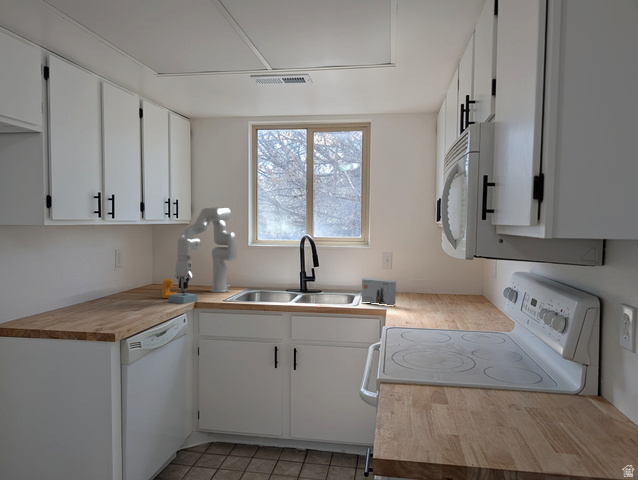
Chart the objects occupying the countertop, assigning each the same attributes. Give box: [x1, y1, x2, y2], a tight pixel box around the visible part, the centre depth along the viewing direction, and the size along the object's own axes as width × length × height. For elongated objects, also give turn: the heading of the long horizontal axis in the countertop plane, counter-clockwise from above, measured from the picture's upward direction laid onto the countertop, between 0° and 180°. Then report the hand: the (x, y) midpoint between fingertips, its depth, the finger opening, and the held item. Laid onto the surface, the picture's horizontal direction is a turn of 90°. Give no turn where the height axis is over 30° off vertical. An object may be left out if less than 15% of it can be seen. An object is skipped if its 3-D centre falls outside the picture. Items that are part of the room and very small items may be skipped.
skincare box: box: [361, 277, 397, 305], centre depth 267 cm, size 21×5×16 cm, turn 62°
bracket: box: [161, 278, 178, 299], centre depth 272 cm, size 11×7×12 cm, turn 5°
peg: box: [180, 277, 187, 294], centre depth 261 cm, size 3×3×10 cm
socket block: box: [168, 292, 199, 305], centre depth 261 cm, size 12×12×4 cm
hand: (183, 287), depth 261 cm, fingers closed on peg, 3 cm apart
